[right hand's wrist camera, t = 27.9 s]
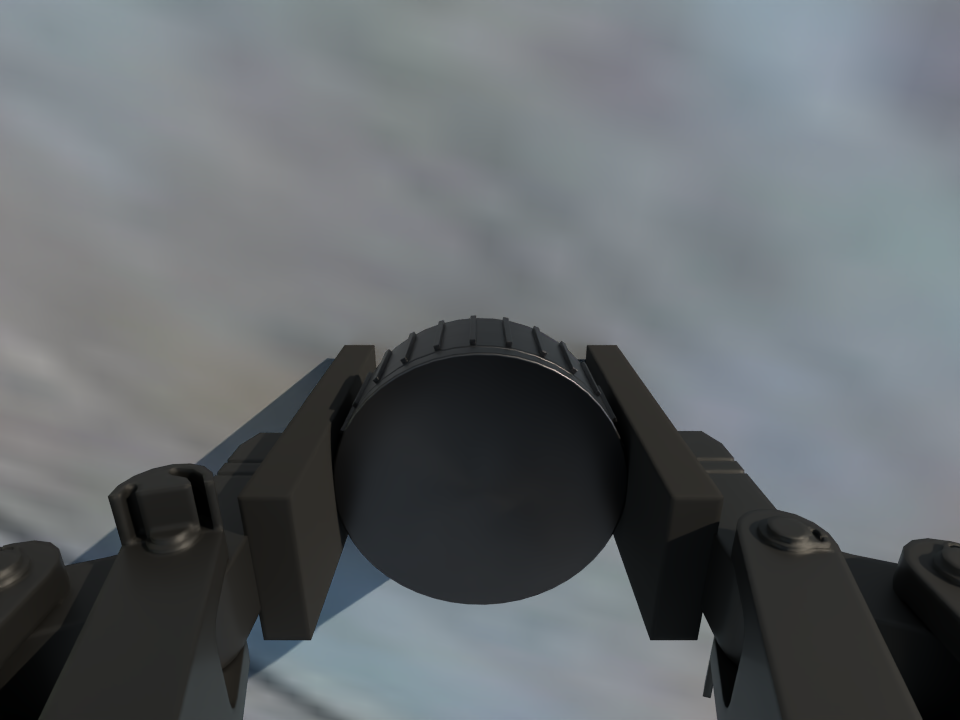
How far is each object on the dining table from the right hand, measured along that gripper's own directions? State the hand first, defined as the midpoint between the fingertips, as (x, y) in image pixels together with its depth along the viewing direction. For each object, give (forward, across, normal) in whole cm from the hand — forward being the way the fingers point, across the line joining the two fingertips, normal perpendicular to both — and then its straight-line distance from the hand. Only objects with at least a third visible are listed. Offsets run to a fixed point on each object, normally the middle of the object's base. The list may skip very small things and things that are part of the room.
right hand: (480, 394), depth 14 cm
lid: (-4, 0, 0) cm, 4 cm away
